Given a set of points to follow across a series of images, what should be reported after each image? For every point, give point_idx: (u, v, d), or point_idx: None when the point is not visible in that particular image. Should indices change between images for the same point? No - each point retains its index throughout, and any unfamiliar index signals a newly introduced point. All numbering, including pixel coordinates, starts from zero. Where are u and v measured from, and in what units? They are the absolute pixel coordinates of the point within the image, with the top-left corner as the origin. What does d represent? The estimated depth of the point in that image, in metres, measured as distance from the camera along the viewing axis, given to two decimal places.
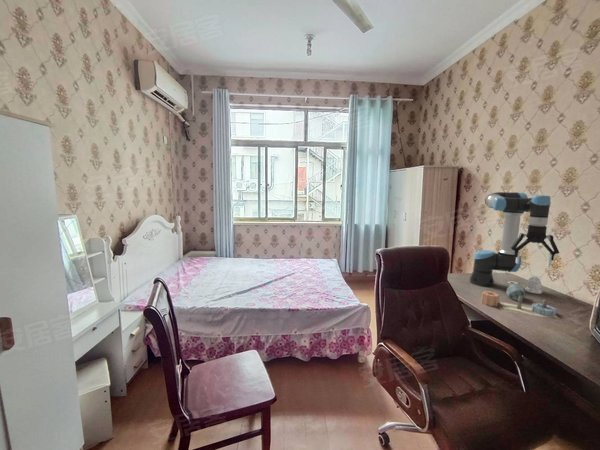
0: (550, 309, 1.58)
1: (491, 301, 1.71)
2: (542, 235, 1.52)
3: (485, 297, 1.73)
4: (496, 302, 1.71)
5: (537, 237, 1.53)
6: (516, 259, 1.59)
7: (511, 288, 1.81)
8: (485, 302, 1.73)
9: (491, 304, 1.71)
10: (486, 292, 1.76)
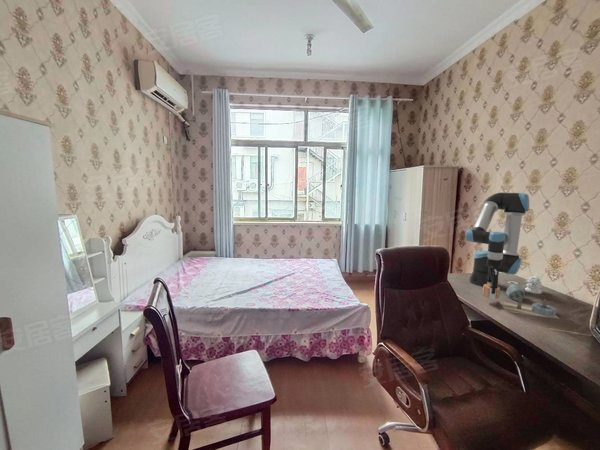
0: (550, 309, 1.58)
1: None
2: (492, 267, 1.70)
3: (486, 290, 1.73)
4: (497, 295, 1.71)
5: (491, 268, 1.72)
6: None
7: (511, 288, 1.81)
8: (486, 295, 1.73)
9: None
10: (487, 285, 1.76)
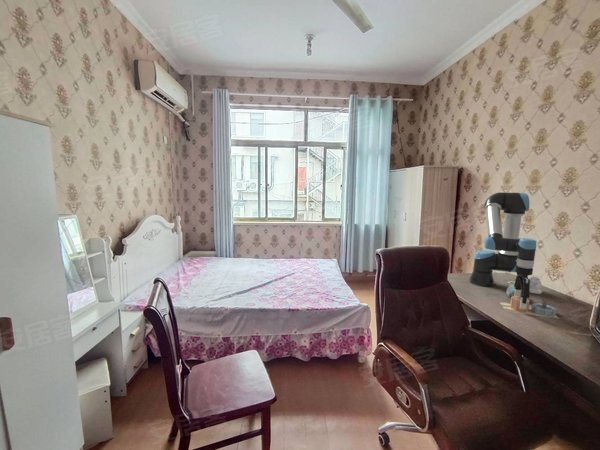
0: (550, 309, 1.58)
1: None
2: (522, 276, 1.61)
3: (515, 302, 1.64)
4: (527, 307, 1.62)
5: None
6: None
7: (511, 288, 1.81)
8: (515, 307, 1.64)
9: (521, 310, 1.62)
10: (515, 297, 1.67)
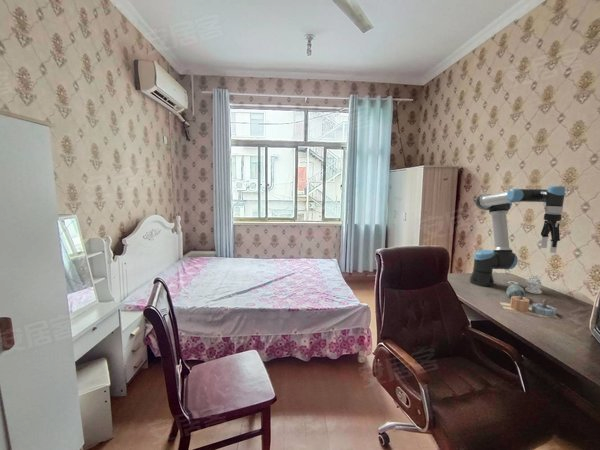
0: (550, 309, 1.58)
1: (521, 306, 1.62)
2: (550, 222, 1.66)
3: (515, 302, 1.64)
4: (527, 307, 1.62)
5: None
6: None
7: (511, 288, 1.81)
8: (515, 307, 1.64)
9: (521, 310, 1.62)
10: (515, 297, 1.67)
